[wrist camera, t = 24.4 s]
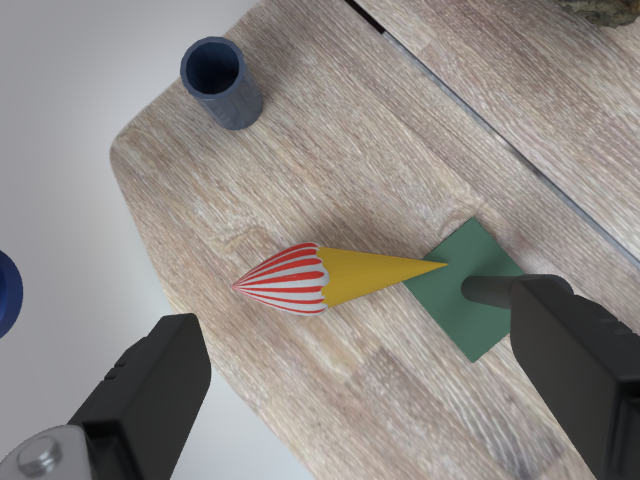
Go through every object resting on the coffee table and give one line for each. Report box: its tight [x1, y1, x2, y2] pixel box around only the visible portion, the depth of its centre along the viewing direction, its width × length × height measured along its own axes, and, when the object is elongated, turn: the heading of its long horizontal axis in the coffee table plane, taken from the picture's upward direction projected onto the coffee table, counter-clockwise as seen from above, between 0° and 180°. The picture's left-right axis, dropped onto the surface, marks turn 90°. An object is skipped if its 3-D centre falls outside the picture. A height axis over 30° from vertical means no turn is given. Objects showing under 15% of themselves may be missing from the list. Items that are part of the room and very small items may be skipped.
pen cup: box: [180, 37, 263, 130], centre depth 37 cm, size 6×6×7 cm
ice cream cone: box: [230, 242, 448, 316], centre depth 35 cm, size 6×6×20 cm
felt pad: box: [402, 217, 526, 363], centre depth 36 cm, size 9×10×1 cm
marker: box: [461, 274, 574, 310], centre depth 29 cm, size 3×3×14 cm
